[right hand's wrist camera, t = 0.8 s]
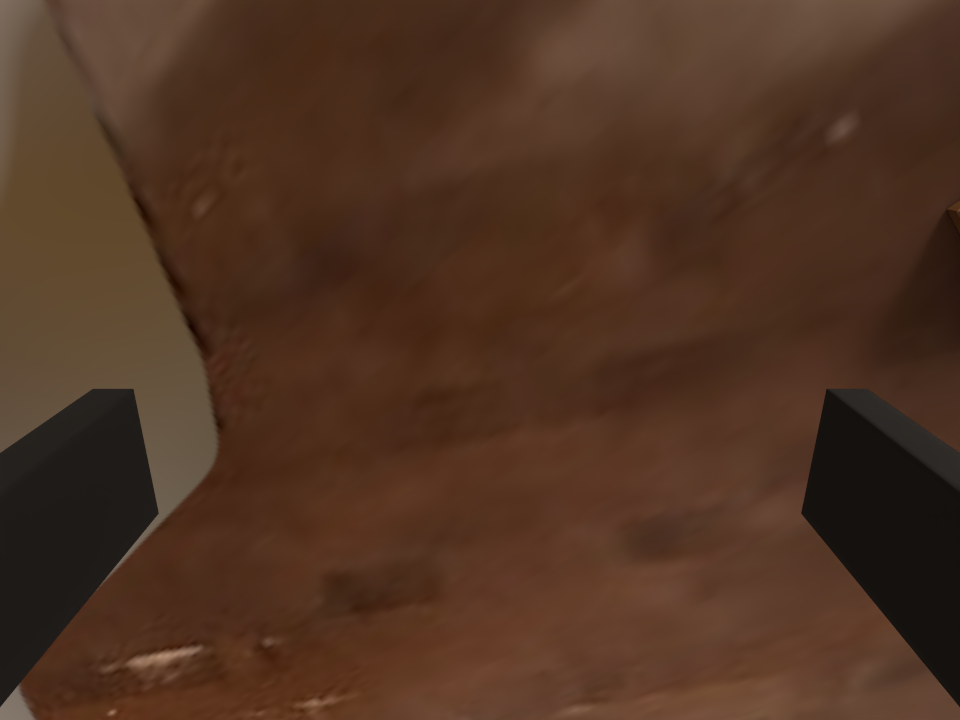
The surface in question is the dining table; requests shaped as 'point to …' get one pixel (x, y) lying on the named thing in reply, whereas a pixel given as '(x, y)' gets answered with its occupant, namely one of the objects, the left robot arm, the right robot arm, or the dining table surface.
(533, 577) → the dining table surface
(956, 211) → the chest
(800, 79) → the dining table surface
